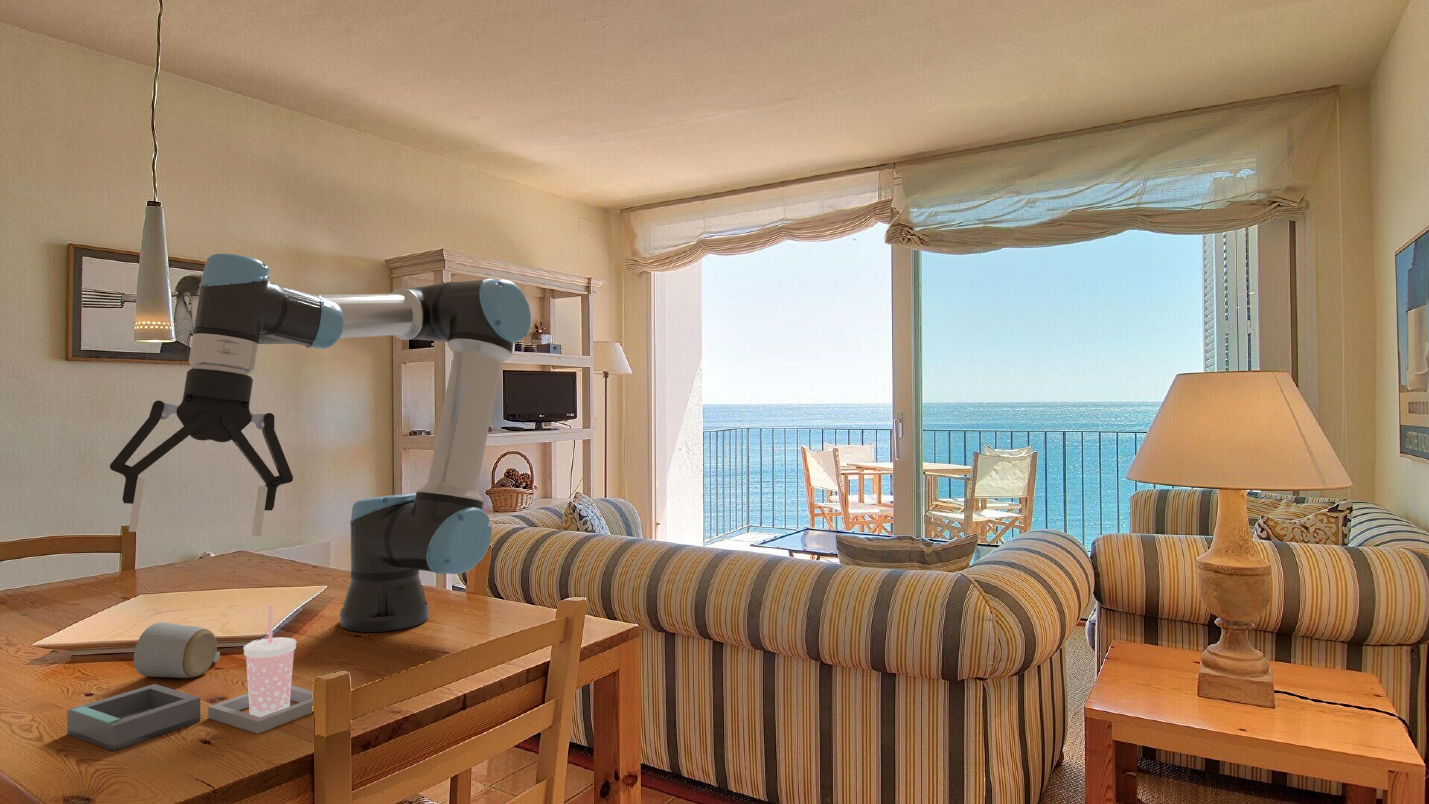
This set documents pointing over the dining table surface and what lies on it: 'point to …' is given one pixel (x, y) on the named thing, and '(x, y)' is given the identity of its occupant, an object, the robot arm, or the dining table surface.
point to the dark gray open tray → (133, 716)
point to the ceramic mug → (175, 651)
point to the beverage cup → (269, 672)
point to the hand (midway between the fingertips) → (196, 533)
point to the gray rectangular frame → (234, 717)
